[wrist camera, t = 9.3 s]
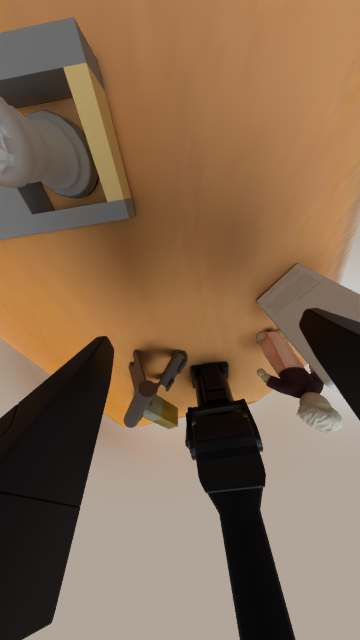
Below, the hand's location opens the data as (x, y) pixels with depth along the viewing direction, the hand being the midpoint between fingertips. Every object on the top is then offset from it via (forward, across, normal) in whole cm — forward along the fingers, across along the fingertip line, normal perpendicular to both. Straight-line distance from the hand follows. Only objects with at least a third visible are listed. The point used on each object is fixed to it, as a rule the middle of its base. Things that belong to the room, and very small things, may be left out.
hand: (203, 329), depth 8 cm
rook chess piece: (+12, +8, -8) cm, 17 cm away
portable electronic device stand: (+12, +7, +17) cm, 22 cm away
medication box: (+12, +9, +29) cm, 33 cm away
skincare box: (+12, -12, +6) cm, 18 cm away
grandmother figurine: (+12, -11, +14) cm, 22 cm away
